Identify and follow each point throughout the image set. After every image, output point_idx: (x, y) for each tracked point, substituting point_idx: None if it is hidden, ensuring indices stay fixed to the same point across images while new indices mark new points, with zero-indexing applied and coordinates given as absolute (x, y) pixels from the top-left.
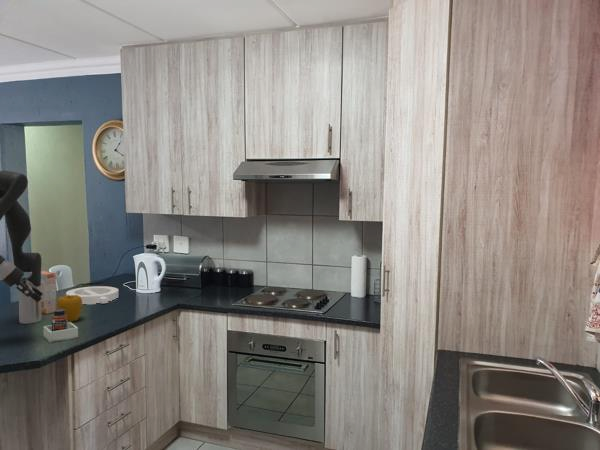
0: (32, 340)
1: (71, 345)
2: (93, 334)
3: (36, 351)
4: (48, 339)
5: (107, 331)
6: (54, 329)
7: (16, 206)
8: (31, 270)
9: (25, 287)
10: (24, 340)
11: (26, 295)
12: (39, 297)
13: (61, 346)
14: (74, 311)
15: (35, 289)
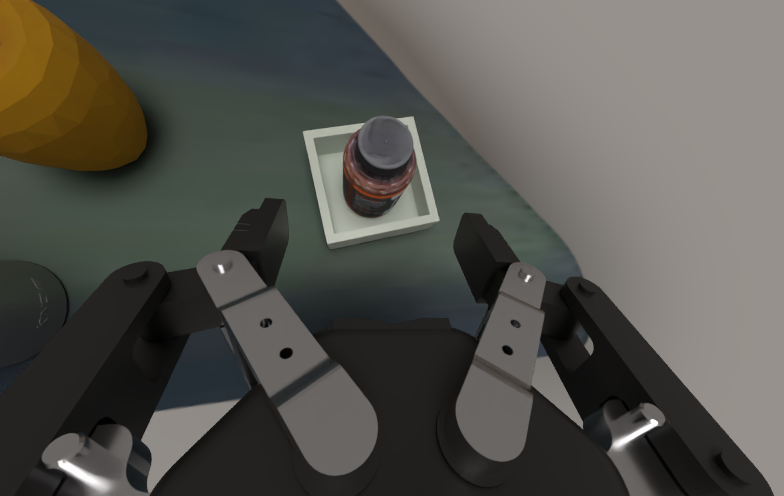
0: (367, 287)
1: (477, 166)
2: (380, 87)
3: None
4: (409, 231)
5: (362, 39)
6: (396, 201)
7: None
8: None
9: (674, 377)
10: (354, 316)
11: (572, 339)
12: (485, 226)
13: (476, 196)
14: (126, 87)
15: (265, 259)
